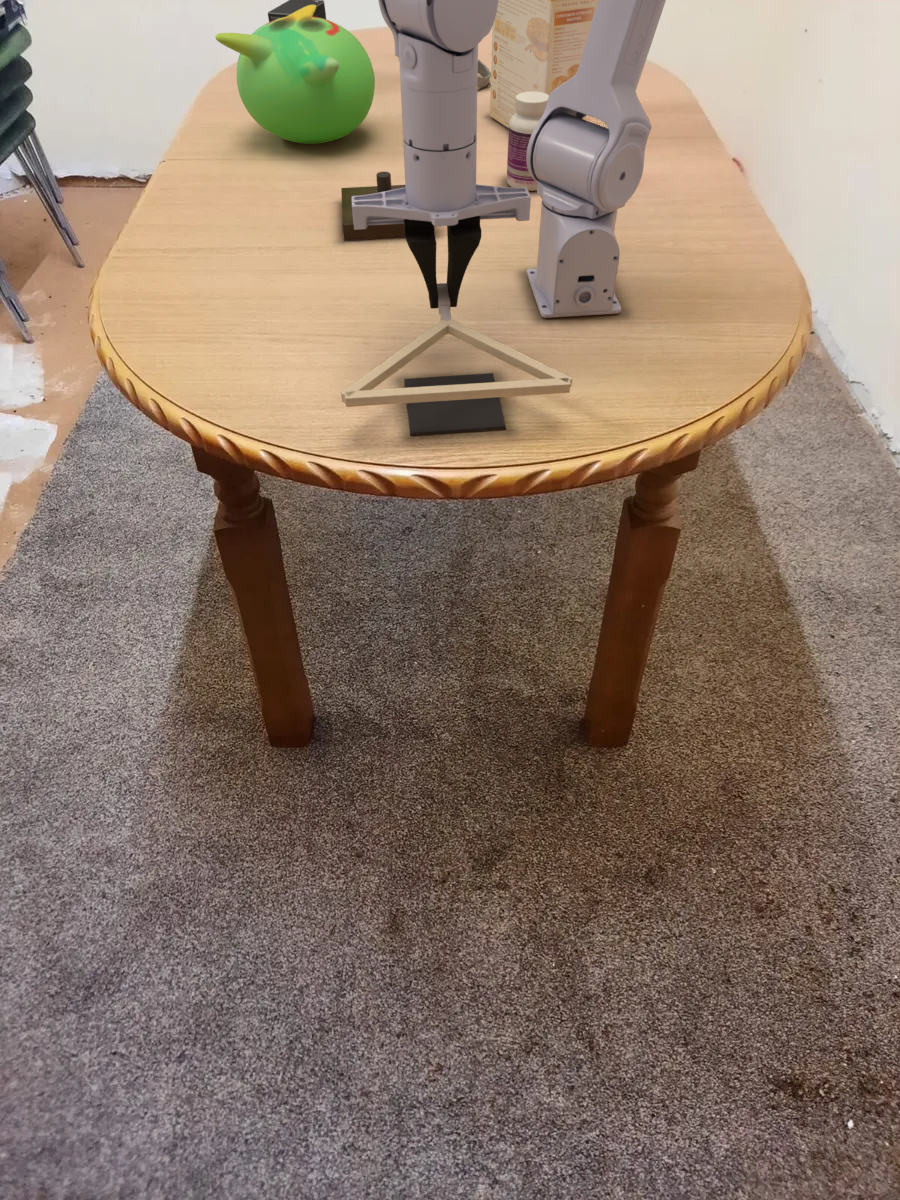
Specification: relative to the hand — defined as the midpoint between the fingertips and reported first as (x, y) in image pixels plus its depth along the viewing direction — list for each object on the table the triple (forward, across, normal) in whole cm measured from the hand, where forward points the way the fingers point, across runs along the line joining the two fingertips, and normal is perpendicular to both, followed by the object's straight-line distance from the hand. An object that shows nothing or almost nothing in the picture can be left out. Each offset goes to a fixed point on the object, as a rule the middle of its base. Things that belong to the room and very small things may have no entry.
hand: (442, 302), depth 74 cm
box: (+5, -14, +76) cm, 78 cm away
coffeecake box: (+5, +18, +54) cm, 58 cm away
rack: (+5, -4, +28) cm, 29 cm away
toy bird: (+5, -13, +54) cm, 56 cm away
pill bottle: (+5, +14, +36) cm, 39 cm away
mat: (+5, 0, -9) cm, 10 cm away
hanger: (+1, 0, -6) cm, 6 cm away
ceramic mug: (+5, +9, +76) cm, 76 cm away
